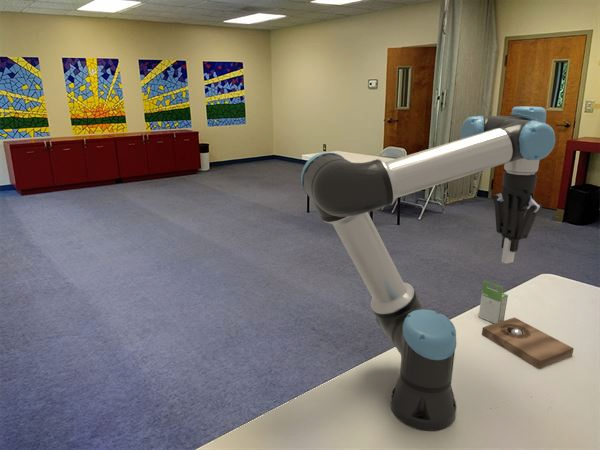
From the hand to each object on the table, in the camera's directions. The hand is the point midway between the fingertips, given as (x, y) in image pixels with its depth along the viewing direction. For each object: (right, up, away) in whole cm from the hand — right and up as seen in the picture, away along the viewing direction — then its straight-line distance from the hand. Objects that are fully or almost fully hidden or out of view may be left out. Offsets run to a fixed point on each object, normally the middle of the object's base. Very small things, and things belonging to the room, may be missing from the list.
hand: (507, 261), depth 120 cm
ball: (+12, -24, +20) cm, 33 cm away
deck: (+13, -26, +18) cm, 34 cm away
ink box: (+9, -22, +33) cm, 40 cm away
